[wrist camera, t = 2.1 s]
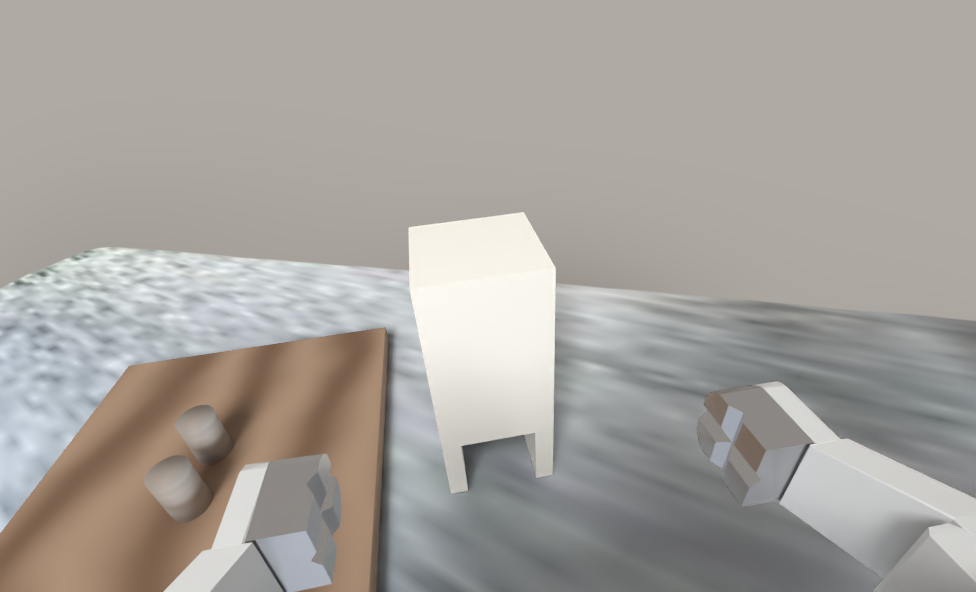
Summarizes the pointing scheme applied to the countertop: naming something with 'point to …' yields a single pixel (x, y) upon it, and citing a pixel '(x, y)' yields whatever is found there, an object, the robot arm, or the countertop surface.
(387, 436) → the countertop surface
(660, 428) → the countertop surface
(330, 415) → the stub board
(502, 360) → the housing
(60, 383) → the countertop surface
